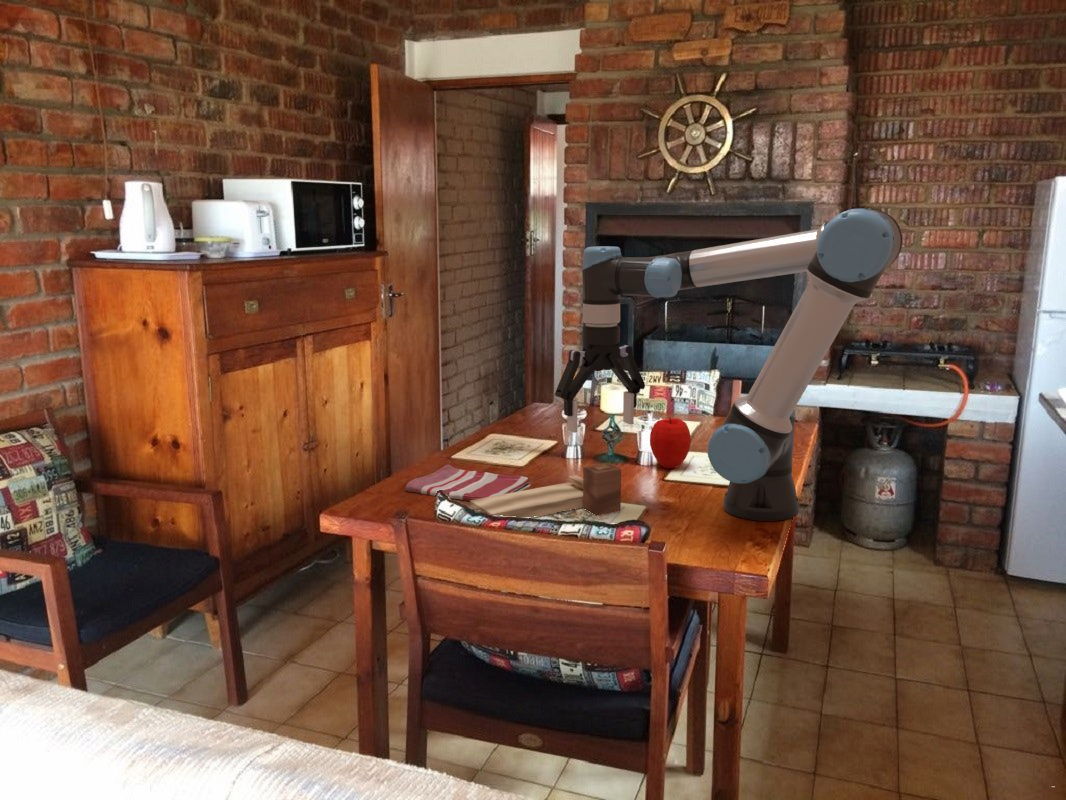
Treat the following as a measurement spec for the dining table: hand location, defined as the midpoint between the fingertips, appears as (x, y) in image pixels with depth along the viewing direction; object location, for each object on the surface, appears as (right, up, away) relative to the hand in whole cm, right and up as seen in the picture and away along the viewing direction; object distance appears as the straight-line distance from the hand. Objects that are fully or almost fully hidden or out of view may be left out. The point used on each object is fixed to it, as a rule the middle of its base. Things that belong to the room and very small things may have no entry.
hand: (600, 427), depth 186 cm
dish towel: (-28, -15, +17) cm, 36 cm away
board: (-12, -17, +4) cm, 21 cm away
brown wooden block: (-2, -16, +5) cm, 17 cm away
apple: (+19, -11, +32) cm, 39 cm away
